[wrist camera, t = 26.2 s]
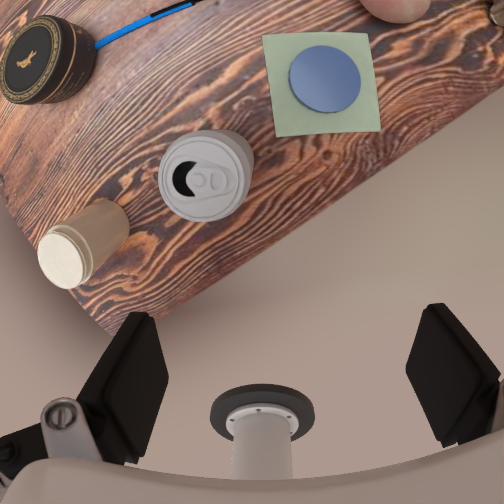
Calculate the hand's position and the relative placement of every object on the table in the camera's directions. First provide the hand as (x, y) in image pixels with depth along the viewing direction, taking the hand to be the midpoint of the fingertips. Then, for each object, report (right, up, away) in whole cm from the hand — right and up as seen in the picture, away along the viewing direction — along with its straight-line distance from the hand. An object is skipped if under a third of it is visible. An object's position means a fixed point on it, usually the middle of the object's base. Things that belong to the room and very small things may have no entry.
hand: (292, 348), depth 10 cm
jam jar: (-18, +6, +23) cm, 30 cm away
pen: (-15, +27, +14) cm, 34 cm away
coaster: (+6, +20, +16) cm, 26 cm away
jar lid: (+6, +19, +15) cm, 25 cm away
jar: (-23, +25, +15) cm, 37 cm away
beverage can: (-4, +13, +20) cm, 24 cm away
